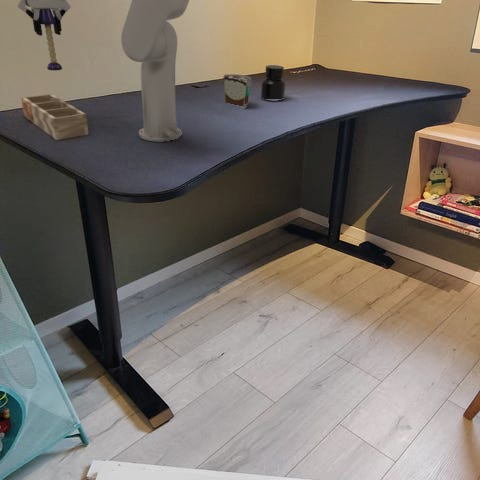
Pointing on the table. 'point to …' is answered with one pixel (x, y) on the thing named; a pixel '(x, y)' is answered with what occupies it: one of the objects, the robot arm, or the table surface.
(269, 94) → the ink bottle
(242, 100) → the food container
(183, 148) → the table surface
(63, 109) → the rack
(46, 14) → the toy lamp
